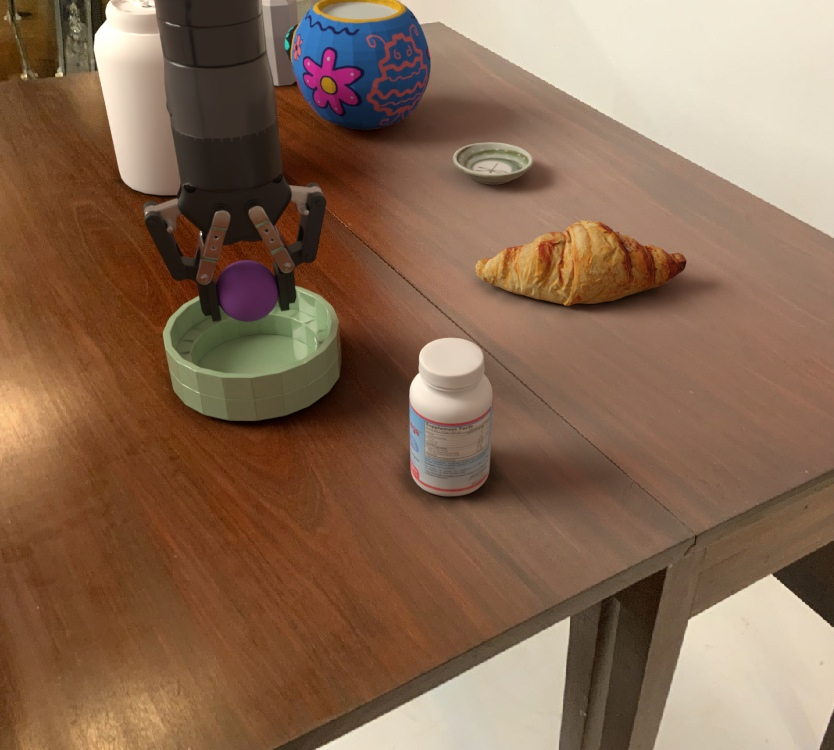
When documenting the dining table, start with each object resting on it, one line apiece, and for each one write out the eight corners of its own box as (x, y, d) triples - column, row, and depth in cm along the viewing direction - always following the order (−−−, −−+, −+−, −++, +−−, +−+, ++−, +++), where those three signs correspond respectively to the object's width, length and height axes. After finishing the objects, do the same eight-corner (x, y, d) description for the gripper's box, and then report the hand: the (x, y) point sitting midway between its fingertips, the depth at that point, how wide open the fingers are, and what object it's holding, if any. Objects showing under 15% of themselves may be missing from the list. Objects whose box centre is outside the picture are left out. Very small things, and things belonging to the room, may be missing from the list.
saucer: (534, 162, 121) (536, 144, 120) (529, 196, 114) (530, 177, 112) (458, 156, 122) (458, 137, 121) (447, 190, 114) (447, 171, 113)
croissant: (477, 329, 97) (481, 289, 90) (470, 244, 101) (473, 199, 94) (684, 321, 99) (704, 280, 92) (669, 237, 103) (687, 193, 96)
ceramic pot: (372, 87, 139) (367, -22, 130) (457, 125, 130) (459, 10, 121) (270, 118, 129) (257, 2, 120) (355, 161, 120) (348, 38, 111)
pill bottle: (419, 443, 78) (417, 326, 71) (494, 452, 77) (500, 336, 71) (402, 495, 73) (399, 375, 66) (482, 505, 73) (487, 385, 66)
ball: (224, 338, 78) (215, 284, 75) (216, 305, 82) (207, 253, 79) (286, 328, 80) (280, 275, 77) (276, 296, 83) (270, 245, 80)
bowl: (181, 441, 77) (171, 391, 74) (166, 342, 87) (156, 295, 84) (357, 408, 81) (355, 359, 78) (322, 318, 92) (319, 272, 89)
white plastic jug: (228, 148, 121) (205, -19, 109) (234, 193, 111) (210, 15, 99) (122, 156, 118) (87, -15, 106) (119, 203, 108) (80, 20, 96)
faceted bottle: (304, 72, 143) (292, -90, 130) (300, 88, 138) (286, -79, 125) (261, 71, 143) (243, -91, 130) (255, 87, 138) (236, -81, 125)
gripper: (121, 144, 65) (163, 350, 75) (333, 123, 70) (345, 321, 80) (116, 103, 71) (156, 300, 81) (312, 86, 75) (326, 276, 85)
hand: (250, 310), depth 80 cm, fingers closed on ball, 5 cm apart
